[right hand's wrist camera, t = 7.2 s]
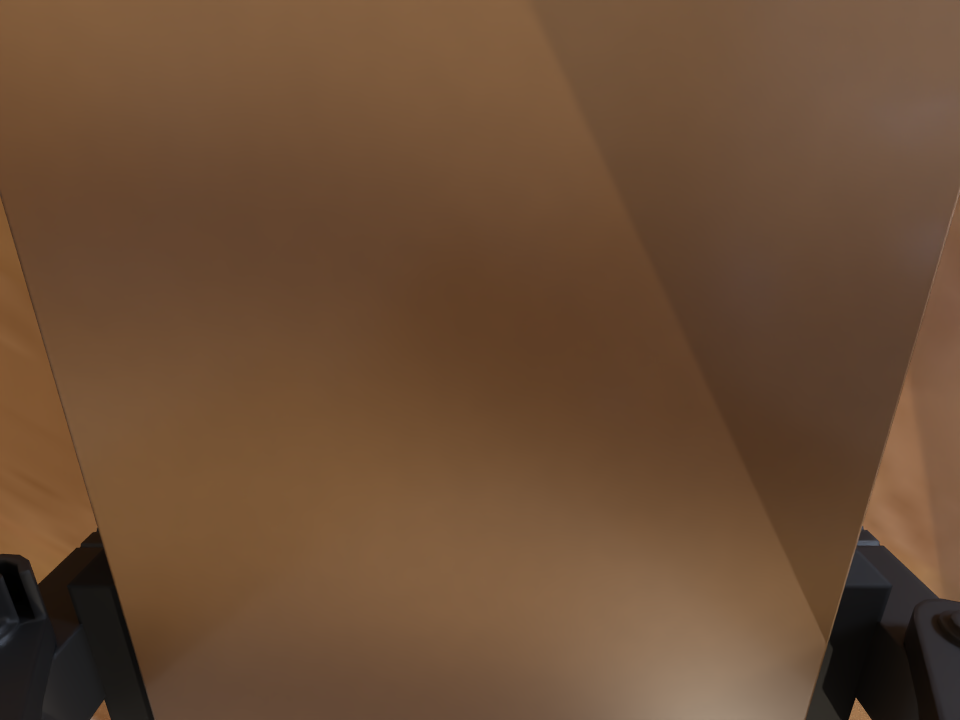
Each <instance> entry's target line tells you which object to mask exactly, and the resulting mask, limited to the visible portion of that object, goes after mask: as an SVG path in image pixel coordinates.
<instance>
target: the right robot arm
mask: <svg viewBox="0 0 960 720" xmlns="http://www.w3.org/2000/svg"><path fill="white" fill-rule="evenodd" d="M855 698H857V699H858V701H859V702H860V704H861V705H862V706H863V708H864V709H865V711H866V712H867V714H868V715H869V716H870V718H871V719H872V720H960V602H956V601H951V600H946V599H939V598H938V597H937V596H936V595H935V594H934V593H933V592H932V591H931V590H930V589H929V588H928V587H927V586H926V585H925V584H923V583H922V582H921V581H920V580H919V579H918V578H917V577H916V576H915V575H914V574H913V573H912V572H911V571H910V570H909V569H908V568H907V567H905V566H904V565H903V564H902V563H901V562H900V561H899V560H898V559H897V558H896V557H895V556H894V555H893V554H892V553H891V552H890V551H889V550H888V549H886V548H885V547H884V546H880V544H879V541H878V540H877V539H876V538H875V537H874V536H873V535H872V534H871V533H870V532H868V531H867V530H864V529H863V526H862V529H861V532H860V536H859V539H858V542H857V546H856V549H855V553H854V556H853V560H852V563H851V566H850V570H849V573H848V577H847V580H846V583H845V587H844V590H843V594H842V597H841V601H840V604H839V607H838V611H837V614H836V618H835V621H834V624H833V628H832V631H831V635H830V638H829V642H828V645H827V648H826V652H825V655H824V659H823V662H822V665H821V669H820V672H819V676H818V679H817V683H816V686H815V689H814V693H813V696H812V700H811V703H810V706H809V710H808V713H807V717H806V720H848V719H849V716H850V713H851V710H852V707H853V704H854V701H855ZM103 700H105V703H106V706H107V709H108V712H109V715H110V718H111V720H154V717H153V714H152V710H151V707H150V704H149V700H148V697H147V693H146V690H145V687H144V683H143V680H142V676H141V673H140V669H139V666H138V663H137V659H136V656H135V652H134V649H133V646H132V642H131V639H130V635H129V632H128V629H127V625H126V622H125V618H124V615H123V612H122V608H121V605H120V601H119V598H118V595H117V591H116V588H115V584H114V581H113V578H112V574H111V571H110V567H109V564H108V560H107V557H106V554H105V550H104V547H103V543H102V540H101V537H100V533H99V530H98V528H97V532H93V533H92V534H91V535H90V536H89V537H88V538H86V539H85V540H84V541H83V542H82V543H81V547H80V548H76V549H75V550H74V551H73V552H72V553H71V554H70V555H69V556H68V557H66V558H65V559H64V560H63V561H62V562H61V563H60V564H59V565H58V566H57V567H56V568H55V569H54V570H53V571H52V572H51V573H50V574H49V575H48V576H47V577H45V578H44V579H43V580H42V581H41V582H40V583H39V584H37V581H36V579H35V576H34V573H33V570H32V567H31V565H30V562H29V560H27V559H26V558H24V557H22V556H21V555H13V554H0V720H90V719H91V717H92V716H93V715H94V713H95V712H96V710H97V709H98V707H99V706H100V705H101V703H102V702H103Z"/></svg>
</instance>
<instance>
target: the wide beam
mask: <svg viewBox="0 0 960 720" xmlns="http://www.w3.org/2000/svg"><path fill="white" fill-rule="evenodd" d="M959 194H960V0H0V196H1V199H2V203H3V206H4V210H5V213H6V216H7V220H8V223H9V227H10V230H11V233H12V237H13V240H14V244H15V247H16V250H17V254H18V257H19V261H20V264H21V267H22V271H23V274H24V278H25V281H26V284H27V288H28V291H29V295H30V298H31V302H32V305H33V308H34V312H35V315H36V319H37V322H38V325H39V329H40V332H41V336H42V339H43V342H44V346H45V349H46V353H47V356H48V359H49V363H50V366H51V370H52V373H53V376H54V380H55V383H56V387H57V390H58V394H59V397H60V400H61V404H62V407H63V411H64V414H65V417H66V421H67V424H68V428H69V431H70V434H71V438H72V441H73V445H74V448H75V451H76V455H77V458H78V462H79V465H80V468H81V472H82V475H83V479H84V482H85V486H86V489H87V492H88V496H89V499H90V503H91V506H92V509H93V513H94V516H95V520H96V523H97V526H98V530H99V533H100V537H101V540H102V543H103V547H104V550H105V554H106V557H107V560H108V564H109V567H110V571H111V574H112V578H113V581H114V584H115V588H116V591H117V595H118V598H119V601H120V605H121V608H122V612H123V615H124V618H125V622H126V625H127V629H128V632H129V635H130V639H131V642H132V646H133V649H134V652H135V656H136V659H137V663H138V666H139V669H140V673H141V676H142V680H143V683H144V687H145V690H146V693H147V697H148V700H149V704H150V707H151V710H152V714H153V717H154V720H806V717H807V713H808V710H809V706H810V703H811V700H812V696H813V693H814V689H815V686H816V683H817V679H818V676H819V672H820V669H821V665H822V662H823V659H824V655H825V652H826V648H827V645H828V642H829V638H830V635H831V631H832V628H833V624H834V621H835V618H836V614H837V611H838V607H839V604H840V601H841V597H842V594H843V590H844V587H845V583H846V580H847V577H848V573H849V570H850V566H851V563H852V560H853V556H854V553H855V549H856V546H857V542H858V539H859V536H860V532H861V529H862V525H863V522H864V519H865V515H866V512H867V508H868V505H869V501H870V498H871V495H872V491H873V488H874V484H875V481H876V477H877V474H878V471H879V467H880V464H881V460H882V457H883V454H884V450H885V447H886V443H887V440H888V436H889V433H890V430H891V426H892V423H893V419H894V416H895V413H896V409H897V406H898V402H899V399H900V395H901V392H902V389H903V385H904V382H905V378H906V375H907V372H908V368H909V365H910V361H911V358H912V354H913V351H914V348H915V344H916V341H917V337H918V334H919V331H920V327H921V324H922V320H923V317H924V313H925V310H926V307H927V303H928V300H929V296H930V293H931V290H932V286H933V283H934V279H935V276H936V272H937V269H938V266H939V262H940V259H941V255H942V252H943V249H944V245H945V242H946V238H947V235H948V231H949V228H950V225H951V221H952V218H953V214H954V211H955V208H956V204H957V201H958V197H959Z"/></svg>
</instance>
